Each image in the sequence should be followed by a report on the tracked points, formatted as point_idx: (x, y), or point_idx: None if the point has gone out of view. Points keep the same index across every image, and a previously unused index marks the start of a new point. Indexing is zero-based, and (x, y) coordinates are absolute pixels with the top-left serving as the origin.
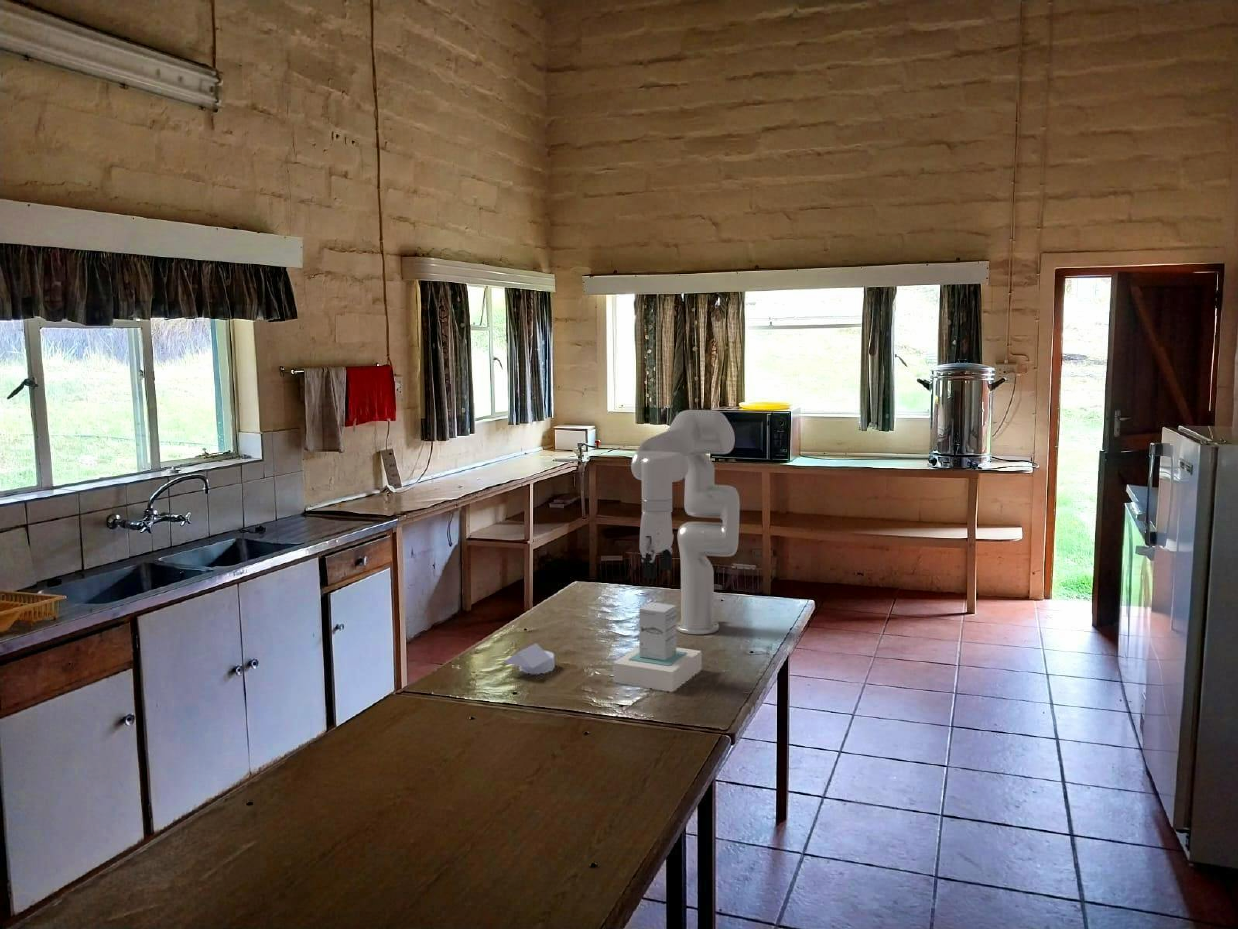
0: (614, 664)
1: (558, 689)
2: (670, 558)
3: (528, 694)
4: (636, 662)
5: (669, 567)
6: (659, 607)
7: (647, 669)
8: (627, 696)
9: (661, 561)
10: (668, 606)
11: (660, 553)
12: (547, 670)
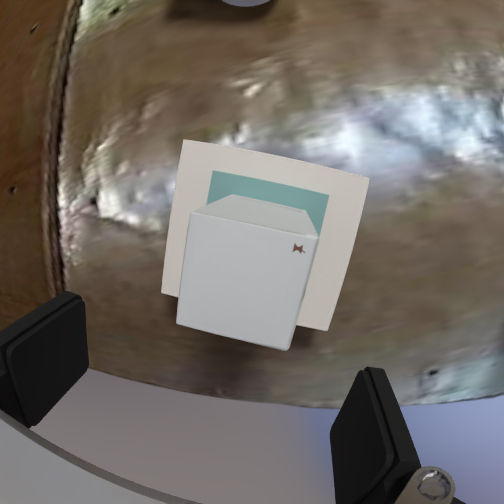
0: (183, 143)
1: (139, 60)
2: (339, 497)
3: (111, 31)
4: (200, 195)
5: (333, 439)
6: (227, 295)
7: (169, 232)
8: (133, 197)
9: (365, 422)
10: (257, 326)
11: (411, 463)
12: (226, 1)
